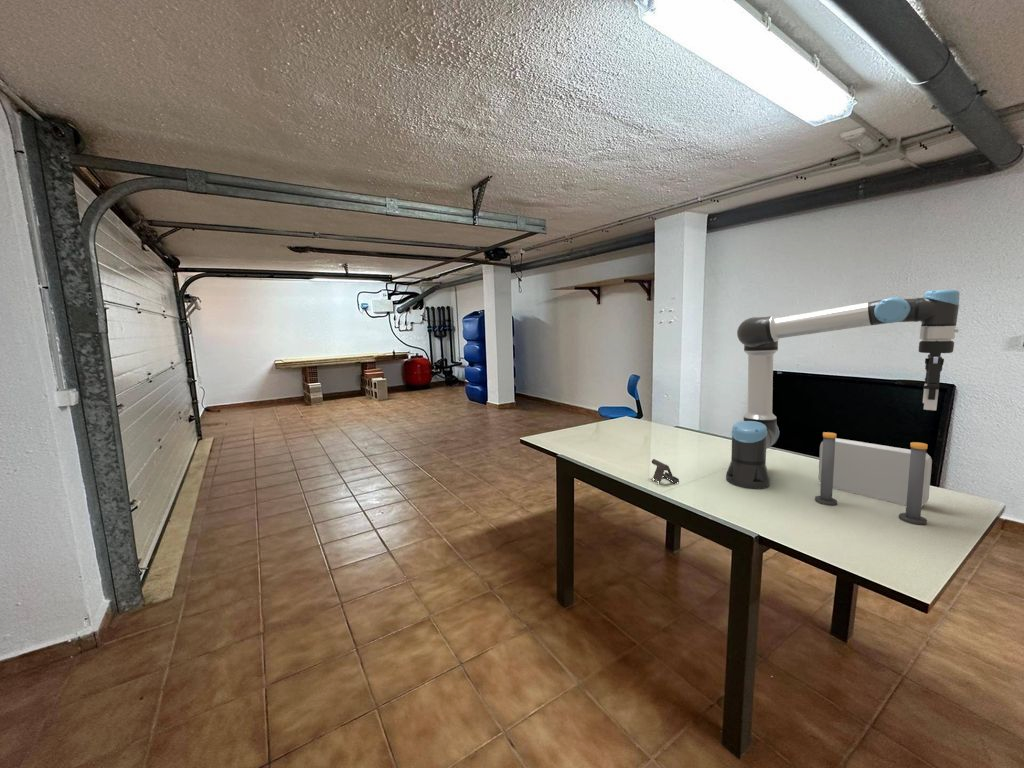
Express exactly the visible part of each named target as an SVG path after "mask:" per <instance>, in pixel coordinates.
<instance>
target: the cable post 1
mask: <svg viewBox="0 0 1024 768" xmlns="http://www.w3.org/2000/svg"><path fill="white" fill-rule="evenodd" d="M835 438H837V433H835V432H830V431H827V432H825V431H823V432H822V439H823V440H822V442H823V453H822V471H821V483H820V489H819V490H820V492H819V493H820V494H819V495H816V496H814V501H815V502H816V503H818V504H820V505H824V506H831V507H832V506H837V505H838V500H837V499H836V498H833V489H834V488H833V473H834V456H835Z"/></svg>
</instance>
